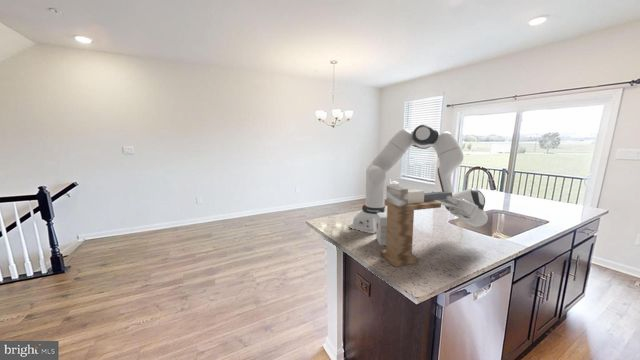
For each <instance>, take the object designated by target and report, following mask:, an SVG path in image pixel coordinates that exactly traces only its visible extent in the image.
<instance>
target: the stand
mask: <svg viewBox="0 0 640 360" xmlns="http://www.w3.org/2000/svg"><path fill="white" fill-rule="evenodd" d="M408 190H409V189H408V188H407V187H403V186H400V185H399V186H396V185H389V184H388V185H386V194H385V195H386V197H385V198H386V199H385V202H384V206H385V205H386V207H387V208H386V209H387V210H386V213H387V236H386V245H385V249H380V250H379V255H380V256H381V257H382V258H383V259H385V260H386V261H387V262H388V263H389V264H391V265H392V267H394V268H395V267H399V266H400V267H401V266H406V265H413V264H418V263H419V260H420V259H419V257H417V256H416V255H414V254H413V241H414V240H413V238H414V237H413V236H414V218H415V217H414V215H415V213H414V212H415V211H418V210H419V211H421V210H429V209H437V208H438V209H439V208H441V207H442V204H441V203H440V202H437V201H424V202H420V203H410V204H408Z"/></svg>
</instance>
